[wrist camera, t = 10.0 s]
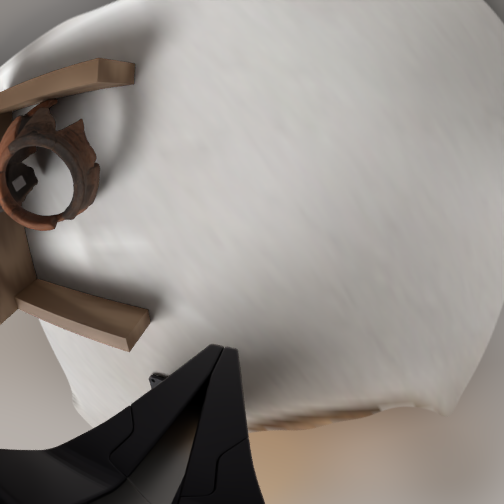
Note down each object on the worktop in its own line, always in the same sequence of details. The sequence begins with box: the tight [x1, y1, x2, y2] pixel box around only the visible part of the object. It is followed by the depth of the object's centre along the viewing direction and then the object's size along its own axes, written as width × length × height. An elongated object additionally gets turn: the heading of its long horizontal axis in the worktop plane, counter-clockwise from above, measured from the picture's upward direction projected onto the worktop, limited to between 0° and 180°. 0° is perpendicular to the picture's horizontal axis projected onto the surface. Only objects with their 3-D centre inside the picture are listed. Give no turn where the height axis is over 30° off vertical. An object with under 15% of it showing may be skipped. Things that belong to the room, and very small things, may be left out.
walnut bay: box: [0, 58, 150, 352], centre depth 18 cm, size 21×16×9 cm
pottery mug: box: [0, 99, 100, 231], centre depth 18 cm, size 12×10×8 cm
